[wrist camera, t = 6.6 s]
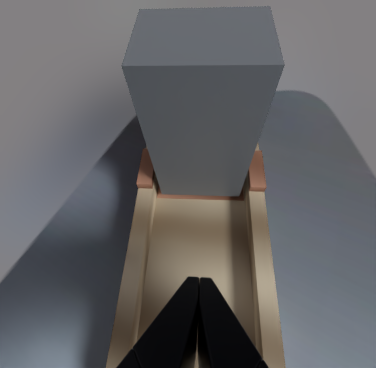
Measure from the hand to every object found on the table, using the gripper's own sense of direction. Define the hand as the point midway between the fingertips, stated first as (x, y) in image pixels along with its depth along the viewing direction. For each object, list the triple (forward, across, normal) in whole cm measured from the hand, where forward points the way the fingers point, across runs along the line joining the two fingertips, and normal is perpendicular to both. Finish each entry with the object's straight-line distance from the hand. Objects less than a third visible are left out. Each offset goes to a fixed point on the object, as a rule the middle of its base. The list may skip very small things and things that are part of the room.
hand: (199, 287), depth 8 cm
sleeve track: (+8, 0, +3) cm, 9 cm away
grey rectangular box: (+10, 0, -2) cm, 11 cm away
